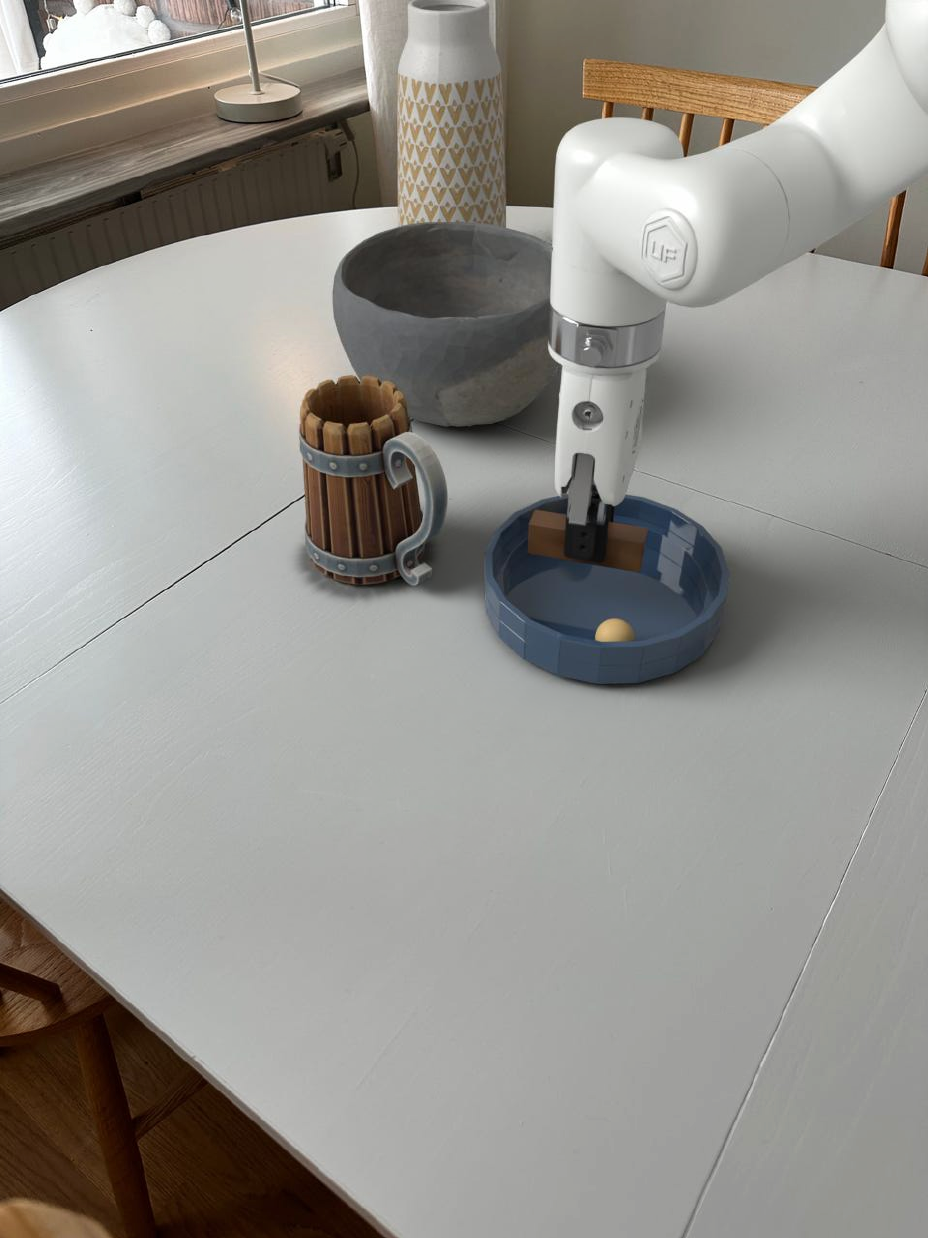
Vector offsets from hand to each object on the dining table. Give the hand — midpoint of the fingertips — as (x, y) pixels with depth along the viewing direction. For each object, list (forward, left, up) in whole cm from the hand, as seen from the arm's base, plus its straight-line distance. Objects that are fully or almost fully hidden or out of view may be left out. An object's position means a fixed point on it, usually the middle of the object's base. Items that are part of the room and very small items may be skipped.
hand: (588, 546), depth 77 cm
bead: (-4, +6, -4) cm, 8 cm away
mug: (+18, 0, -6) cm, 19 cm away
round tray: (-1, 0, -6) cm, 6 cm away
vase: (+30, -59, -6) cm, 66 cm away
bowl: (+20, -28, -6) cm, 35 cm away
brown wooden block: (0, 0, -1) cm, 1 cm away
